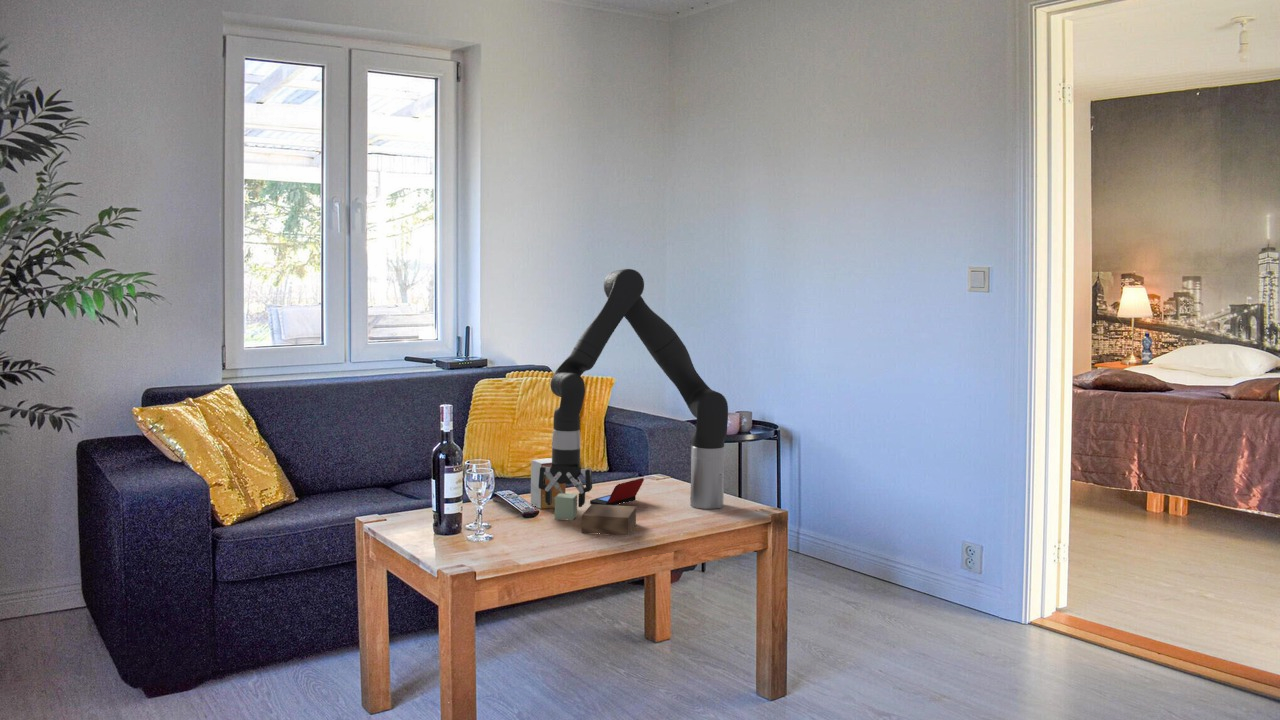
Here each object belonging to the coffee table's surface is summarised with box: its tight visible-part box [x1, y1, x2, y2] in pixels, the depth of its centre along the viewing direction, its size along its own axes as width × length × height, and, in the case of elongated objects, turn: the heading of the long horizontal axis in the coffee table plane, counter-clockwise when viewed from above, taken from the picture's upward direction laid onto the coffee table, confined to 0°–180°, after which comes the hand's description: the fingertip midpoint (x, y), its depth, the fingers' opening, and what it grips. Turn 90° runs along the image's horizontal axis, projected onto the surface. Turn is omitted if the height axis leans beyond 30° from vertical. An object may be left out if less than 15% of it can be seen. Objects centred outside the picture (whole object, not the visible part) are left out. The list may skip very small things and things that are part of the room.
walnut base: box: [581, 503, 637, 537], centre depth 258 cm, size 12×12×5 cm
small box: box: [530, 457, 567, 510], centre depth 281 cm, size 8×6×13 cm
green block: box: [554, 493, 578, 521], centre depth 269 cm, size 5×5×6 cm
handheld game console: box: [589, 477, 645, 506], centre depth 287 cm, size 12×11×7 cm
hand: (564, 505), depth 269 cm, fingers open, 8 cm apart
